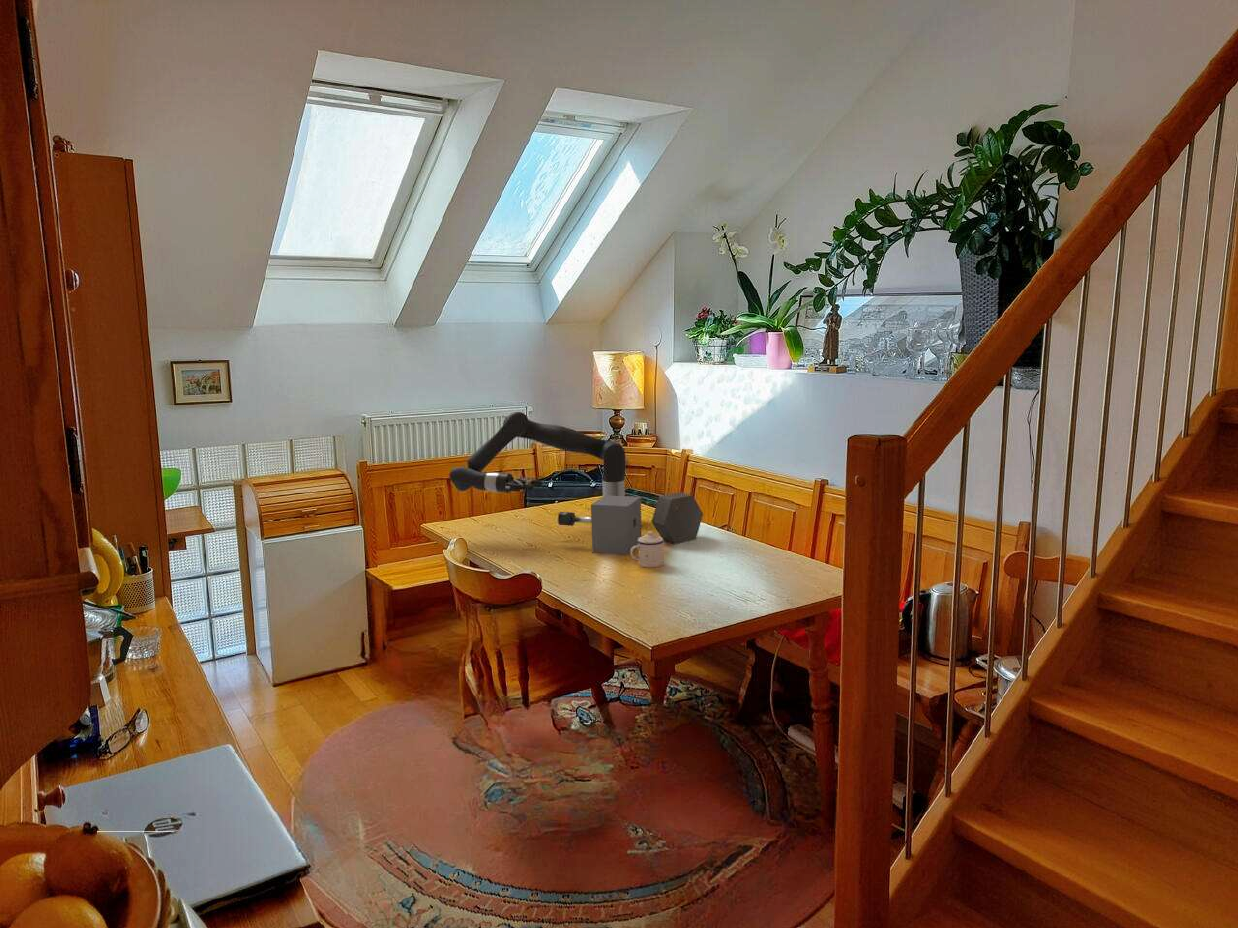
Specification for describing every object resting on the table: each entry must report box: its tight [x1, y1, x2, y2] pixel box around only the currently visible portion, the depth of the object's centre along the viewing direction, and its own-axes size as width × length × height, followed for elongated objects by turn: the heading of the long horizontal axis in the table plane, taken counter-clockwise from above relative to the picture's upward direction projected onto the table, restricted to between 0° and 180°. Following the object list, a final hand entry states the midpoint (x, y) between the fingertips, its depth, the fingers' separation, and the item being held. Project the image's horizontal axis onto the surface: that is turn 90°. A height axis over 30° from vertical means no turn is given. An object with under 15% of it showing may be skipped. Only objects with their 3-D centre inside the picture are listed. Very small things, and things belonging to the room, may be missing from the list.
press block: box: [590, 495, 643, 556], centre depth 319 cm, size 16×14×18 cm
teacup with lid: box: [629, 530, 665, 569], centre depth 297 cm, size 12×9×12 cm
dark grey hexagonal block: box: [650, 492, 704, 545], centre depth 328 cm, size 17×8×21 cm
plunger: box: [557, 511, 591, 527], centre depth 323 cm, size 5×19×5 cm, turn 71°
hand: (537, 485), depth 326 cm, fingers open, 8 cm apart
